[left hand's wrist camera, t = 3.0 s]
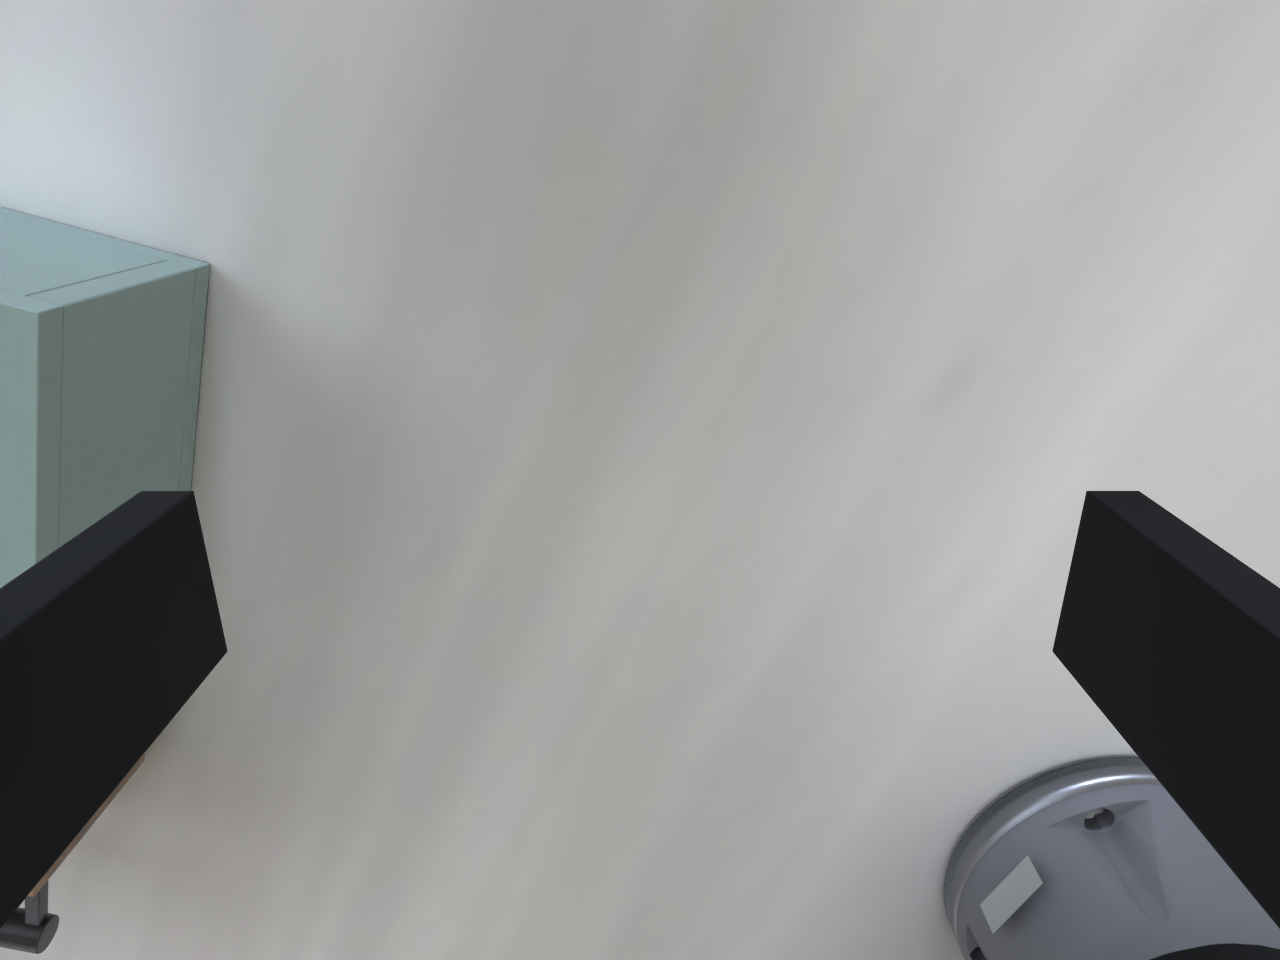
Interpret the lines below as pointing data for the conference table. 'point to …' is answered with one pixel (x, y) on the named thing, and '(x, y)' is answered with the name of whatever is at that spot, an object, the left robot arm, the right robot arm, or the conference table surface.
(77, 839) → the drawer
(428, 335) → the conference table surface
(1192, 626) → the left robot arm
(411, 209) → the conference table surface
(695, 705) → the conference table surface
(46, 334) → the cabinet
